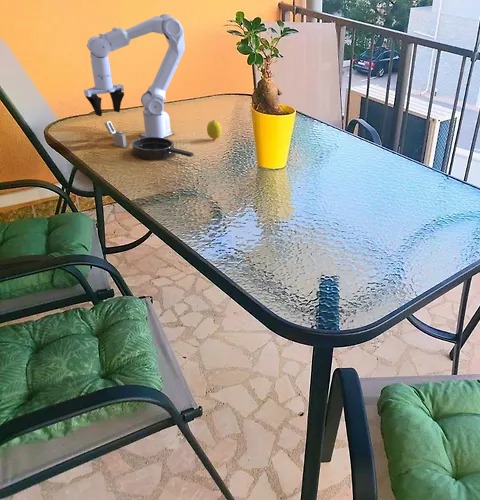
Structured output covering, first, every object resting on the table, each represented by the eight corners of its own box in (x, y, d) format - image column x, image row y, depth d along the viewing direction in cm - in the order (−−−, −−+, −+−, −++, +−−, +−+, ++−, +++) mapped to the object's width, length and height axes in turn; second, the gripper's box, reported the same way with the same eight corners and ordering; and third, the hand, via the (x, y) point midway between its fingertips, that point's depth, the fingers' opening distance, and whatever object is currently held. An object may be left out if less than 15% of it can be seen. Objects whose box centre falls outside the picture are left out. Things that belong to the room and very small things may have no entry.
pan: (150, 143, 174) (149, 134, 172) (181, 151, 171) (181, 142, 169) (124, 154, 163) (123, 144, 161) (157, 163, 160) (156, 153, 158)
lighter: (126, 146, 169) (124, 124, 165) (123, 147, 168) (120, 125, 164) (110, 141, 171) (107, 120, 167) (107, 143, 169) (103, 121, 165)
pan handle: (171, 149, 165) (171, 147, 164) (193, 155, 163) (193, 152, 163) (168, 151, 163) (168, 148, 163) (190, 157, 162) (190, 154, 161)
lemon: (223, 138, 188) (223, 119, 184) (218, 143, 183) (218, 123, 179) (210, 136, 188) (209, 117, 184) (205, 140, 183) (204, 120, 179)
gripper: (91, 79, 155) (98, 120, 162) (127, 74, 166) (132, 112, 173) (77, 75, 157) (84, 115, 164) (113, 70, 168) (118, 108, 175)
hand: (108, 113), depth 169 cm, fingers open, 7 cm apart
